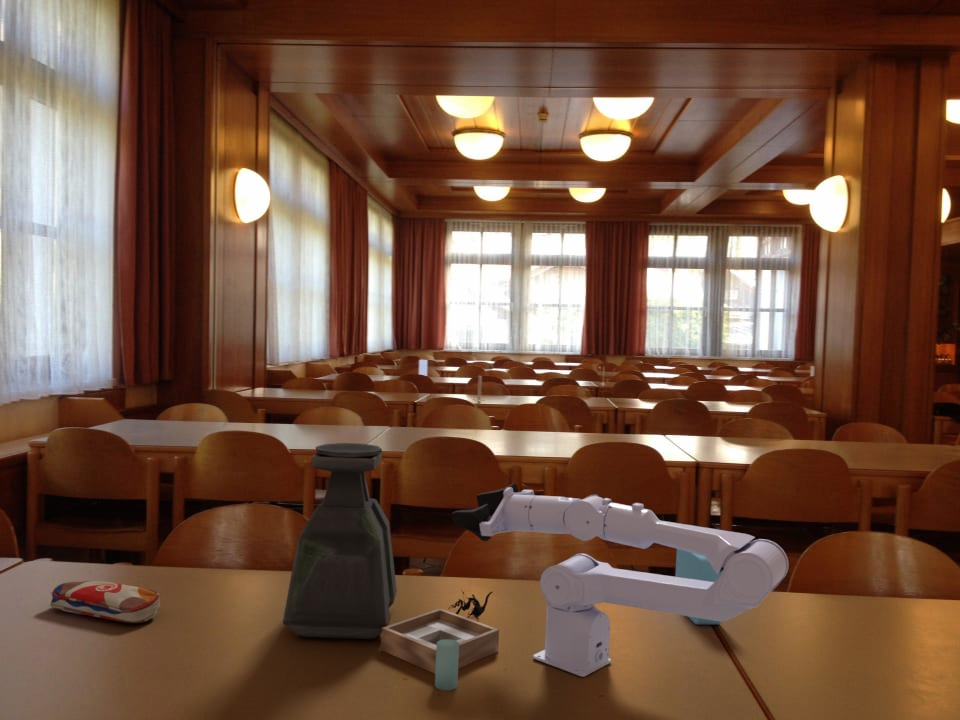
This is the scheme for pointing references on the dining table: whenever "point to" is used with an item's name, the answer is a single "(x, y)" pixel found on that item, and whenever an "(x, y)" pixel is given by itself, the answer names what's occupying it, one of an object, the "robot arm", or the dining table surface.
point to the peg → (446, 664)
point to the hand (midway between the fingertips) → (466, 509)
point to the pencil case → (106, 600)
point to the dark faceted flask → (343, 554)
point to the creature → (477, 609)
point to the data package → (696, 574)
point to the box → (438, 638)
